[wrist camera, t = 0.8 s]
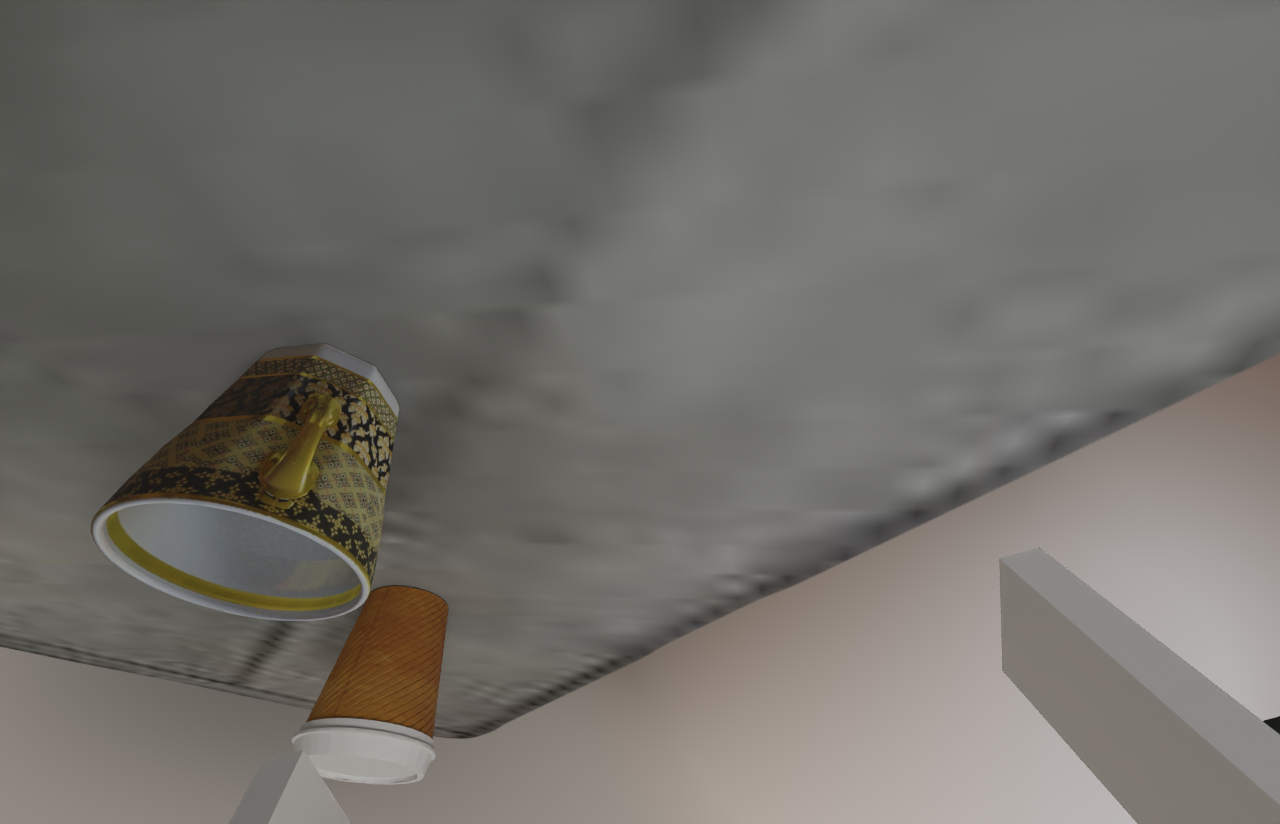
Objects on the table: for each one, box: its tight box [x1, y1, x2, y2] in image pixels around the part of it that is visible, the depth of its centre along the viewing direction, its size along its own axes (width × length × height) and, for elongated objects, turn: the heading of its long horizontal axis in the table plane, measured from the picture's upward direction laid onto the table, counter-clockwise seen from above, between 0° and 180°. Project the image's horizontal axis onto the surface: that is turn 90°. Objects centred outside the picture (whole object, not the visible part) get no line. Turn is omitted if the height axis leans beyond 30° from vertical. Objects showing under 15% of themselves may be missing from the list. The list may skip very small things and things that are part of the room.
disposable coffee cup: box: [292, 586, 449, 784], centre depth 45 cm, size 10×10×12 cm
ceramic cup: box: [91, 344, 399, 621], centre depth 26 cm, size 13×10×10 cm
